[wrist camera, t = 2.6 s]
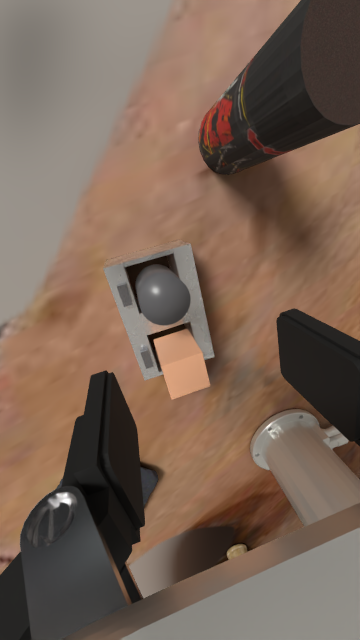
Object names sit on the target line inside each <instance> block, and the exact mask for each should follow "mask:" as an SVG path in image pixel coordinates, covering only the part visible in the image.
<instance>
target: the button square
mask: <svg viewBox="0 0 360 640" xmlns="http://www.w3.org/2000/svg"><path fill="white" fill-rule="evenodd" d="M154 344H155V347H156V351H157V354H158V358H159V362H160V365H161V368H162V371H163V374H164V378H165V381H166V384H167V387H168V390H169V393H170V396H171V399H175V398H178V397H181V396H183V395H186V394H189V393H192V392H195V391H198V390H200V389H203V388H206V387H209V386H210V383H209V378H208V374H207V370H206V366H205V361H204V357H203V353H202V351H201V349H200V348H199V346H198V345H197V343H196V341H195V340H194V338H193V337H192V335H191V333H190V332H189V330H188V329H185V330H181V331H178V332H175V333H172V334H169V335H166V336H163V337H160V338H157V339H154Z"/></svg>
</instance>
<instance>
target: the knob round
mask: <svg viewBox="0 0 360 640" xmlns="http://www.w3.org/2000/svg"><path fill="white" fill-rule="evenodd" d="M135 286H136V292H137V296H138V300H139V305H140V309H141V311H142V313H143V315H144V316H145V318H146V319H148V320H149V321H150V322H152V323H154V324H157V325H171V324H174V323H176V322H178V321H179V320H181V319H182V318H183V317H184V316H185V315H186V313H187V311H188V309H189V307H190V301H191V297H190V293H189V290H188V288H187V286H186V285H185V284H184V283H183V282H182V281H181V280H180V279H179V278H178V277H177V276H176V275H175V274H174V273H173V272H172V271H171V270H170V269H169V268H167V267H166V266H163V265H159V264H154V265H150V266H147V267H145V268H144V269H143V270H142V271H141V272H140V273H139V274H138V276H137V279H136V284H135Z"/></svg>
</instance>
